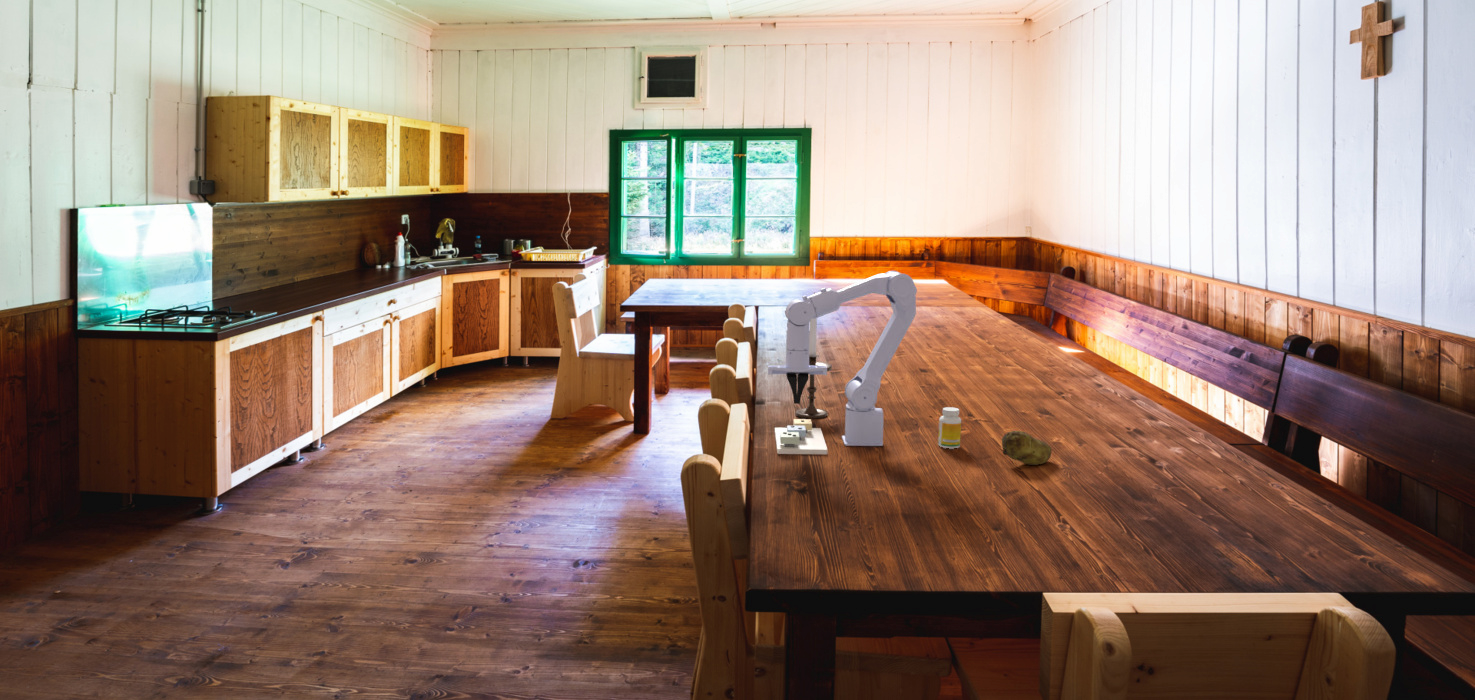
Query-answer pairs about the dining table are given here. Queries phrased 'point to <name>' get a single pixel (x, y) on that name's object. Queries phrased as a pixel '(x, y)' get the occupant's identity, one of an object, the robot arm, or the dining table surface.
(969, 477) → the dining table surface
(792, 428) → the tile two
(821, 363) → the candlestick
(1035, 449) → the potato
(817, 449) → the panel
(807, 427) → the tile one
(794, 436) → the tile three
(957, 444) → the supplement bottle
